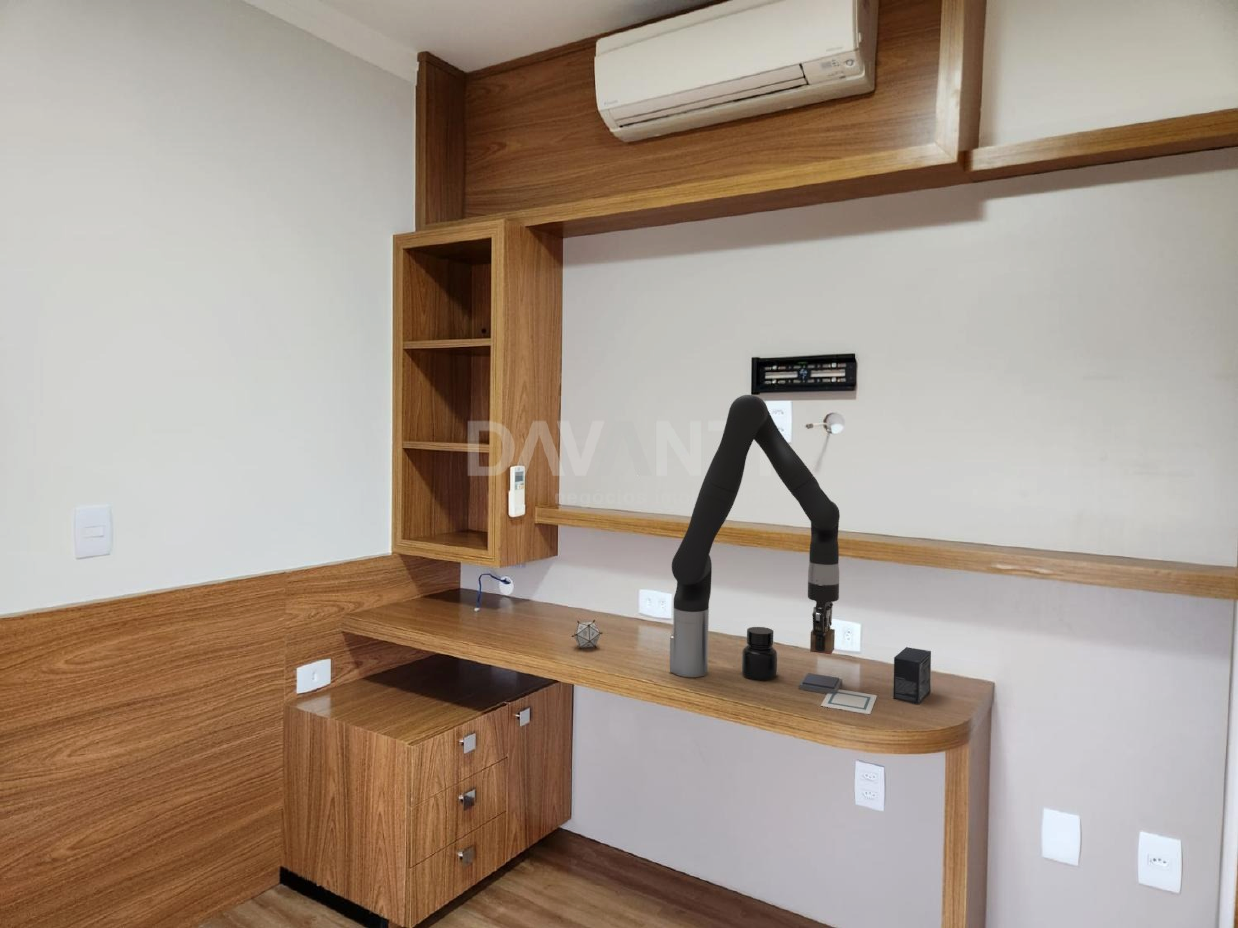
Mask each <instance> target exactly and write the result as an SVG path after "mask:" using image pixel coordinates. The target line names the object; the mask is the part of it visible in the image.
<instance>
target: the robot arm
mask: <svg viewBox="0 0 1238 928" xmlns="http://www.w3.org/2000/svg"><path fill="white" fill-rule="evenodd" d="M728 409H729V410H728V414H727V418H726V423H725V425H724V429H723V432H722V437H721V440H720V442H719V446H718V447H717V449H716V451H715V454H714V455H713V458H712V460H711V463H710V465H709V467H708V468H707V472H706V474H705V476H704V479H703V482H702V484H701V486H700V489H699V491H698V495H697V498H696V501H695V504H694V507H693V510H692V515H691V517H690V522H689V524H688V527H687V530H686V532H685V534H684V536H683V538H682V541H681V542H680V545H679V547H678V548H677V550H676V552H675V554H674V556H673V558H672V562H671V573H672V574H673V575H672V576H673V577H674V579H675V580H676V587H675V588H676V590H675V594H674V597H673V618H672V620H673V621H672V623H673V625H672V626H673V628H672V629H673V630H672V631H673V634H672V635H671V636H670V640H669V641H670V642H669V673H673V674H675V675H677V676H680V677H685V678H700V677H704V676H706V675H707V674H708V671H709V670H708V666H709V659H708V658H709V624H710V623H709V621H710V620H709V619H710V617H709V616H710V614H709V611H710V610H709V609H710V600H711V599H710V598H711V594H712V592H711V591H712V573H713V572H712V571H713V570H712V569H713V567H712V558H711V556H710V553H711V549H712V546H713V544H714V541H715V538H716V537H717V536H718V533H719V531H720V529H721V528H722V527H723V525H724V523H725V521H726V520H727V517H729V514H730V512H731V510H732V508H733V505H734V504H735V502H736V498H737V497H738V494H739V491H740V487H741V484H742V481H743V477H744V473H745V472H744V471H745V466H746V461H747V457H748V453H749V451H750V448H751V446H752V443H753V442H756V443H757V444H758V447H760V448H761V450H762V452H763V453H764V454H765V456H766V457H767V459H768V461H769V462H770V464H771V466H772V468H773V469H774V471H775V473H776V474H777V476H778V477H779V479H780V480H781V482H782V483H783V484H784V485H785V488H787V490H788V491H789V492H790V493H791V495H792V496H793V498H795V500H796V501H797V502H798V503H799V505H800V508H801V509H802V510H803V512H804V514H805V515H806V517H807V518H808V520H809V522H810V542H809V543H810V544H809V555H808V556H809V561H808V569H807V570H808V572H807V573H808V574H807V598H808V599H809V600H810V601H814V602H816V603H815V606H814V607H813V612H812V613H811V615H812V630H813V635H816V638H815V649H816V650H817V651H824V650H825V635H826V627H828V629H832V628H831V626H832V625H833V623H832V620H833V606H834V603H833V602H837V601H838V600H839V599H840V566H839V565H840V564H839V562H840V561H839V556H840V549H839V547H840V546H839V541H838V539H839V527H840V525H839V523H840V517H841V515H840V509H839V507H838V505H837V504H836V503H835V502H834V501H832V500H831V499H830V497H829V496H828V495H827V494H826V493H825V492H824V491H823V488H821V486H820V483H819V482H818V480H817V479H816V476H814V474H813V473H812V471H810V469H809V468H808V466H807V464H806V463H805V462H804V461H803V460H802V458H800V456H799V455H798V453H796V451H795V450H794V449H793V447H792V446H791V444H789V443H788V441H787V440H786V438H785V437H784V435H783V434H782V432H781V431H780V430H779V427H777V424H776V423H775V421H774V419H773V417H772V415H771V413H770V411H769V409H768V406H767V404H766V402H765V401H764V400H763V399H762V398H760V397H759V396H756V395H753V394H744V395H741V396H738V397H737V398H736V399H734V400H733V401H732V403H731V405H730V407H729V408H728ZM824 622H825V623H824ZM818 627H821V630H818Z"/></svg>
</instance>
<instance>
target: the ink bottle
mask: <svg viewBox="0 0 1238 928" xmlns="http://www.w3.org/2000/svg"><path fill="white" fill-rule="evenodd" d="M746 644H747V645H746V646H744V647H743V650H742V655H741V656H742V657H741V658H742V660H741V666H742V667H741V674H742V675H743V676H744V677H745V678H747V679H751V680H754V681H769V680H772V679H775V678H776V677H777V674H778V652H777V649H775V648H774V647H773V646H774V630H773V629H772V628H769V627H763V626H752V627H748V628H747V630H746Z"/></svg>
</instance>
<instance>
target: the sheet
mask: <svg viewBox="0 0 1238 928" xmlns="http://www.w3.org/2000/svg"><path fill="white" fill-rule="evenodd" d="M877 696H878V695H876V694H872V693H871V694H869V693H866V692H865V693H864V692H863V693H862V692H858V691H851V690H846V689H841V688H840V689H839V690H838V692H837V694H830V693H828V694H825V697H824V699H823V701H822V702H821V705H820V707H821V706H823V707H822V708H827V707H828V709H834V710H839V709H842V710H841V711H845V710H846V712H852V713H857V714H862V715H864V714H865V715H868V714H869V715H868V716H870V715H871V714H872V710H873V708H874V706H875V705H874V704H875V702H876V700H877Z"/></svg>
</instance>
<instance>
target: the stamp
mask: <svg viewBox="0 0 1238 928" xmlns="http://www.w3.org/2000/svg"><path fill="white" fill-rule="evenodd" d="M824 623H825V622H824ZM818 630H821V627H818ZM835 632H836V631H835V629H832V628H830V629H828V627H826V635H825V650H824V651H817V650H816V649H815V638H816V635H813V629H812V630H811V631H810V642H809V643H810V649H809V650H810V651H809V652H810V653H817V654H822V655H832V654H833V652H834V650H835V637H836V635H835Z"/></svg>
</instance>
